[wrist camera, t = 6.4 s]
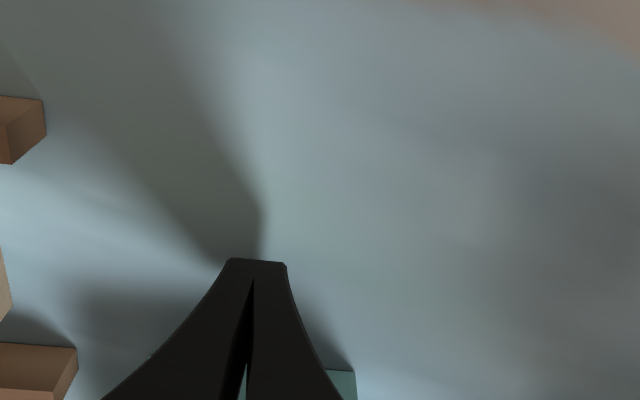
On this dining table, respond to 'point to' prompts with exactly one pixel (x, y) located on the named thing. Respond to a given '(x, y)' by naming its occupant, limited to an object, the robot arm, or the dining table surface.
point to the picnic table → (20, 359)
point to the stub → (4, 290)
